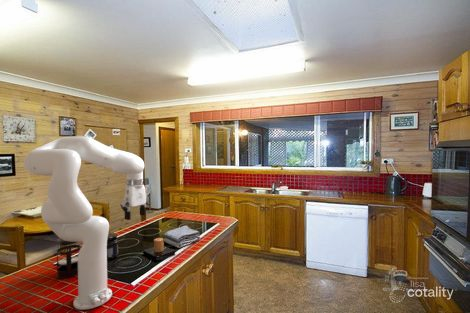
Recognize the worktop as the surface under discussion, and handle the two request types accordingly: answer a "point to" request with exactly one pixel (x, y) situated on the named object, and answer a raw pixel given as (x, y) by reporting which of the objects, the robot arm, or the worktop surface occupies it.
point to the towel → (181, 236)
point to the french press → (67, 260)
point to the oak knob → (158, 245)
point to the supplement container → (112, 246)
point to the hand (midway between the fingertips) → (135, 217)
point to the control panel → (158, 253)
